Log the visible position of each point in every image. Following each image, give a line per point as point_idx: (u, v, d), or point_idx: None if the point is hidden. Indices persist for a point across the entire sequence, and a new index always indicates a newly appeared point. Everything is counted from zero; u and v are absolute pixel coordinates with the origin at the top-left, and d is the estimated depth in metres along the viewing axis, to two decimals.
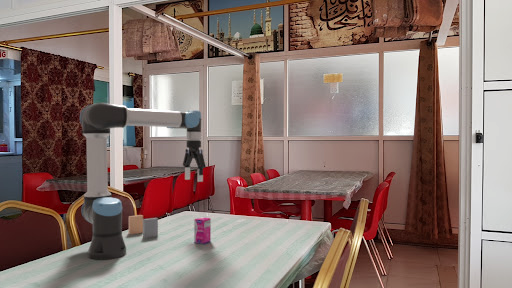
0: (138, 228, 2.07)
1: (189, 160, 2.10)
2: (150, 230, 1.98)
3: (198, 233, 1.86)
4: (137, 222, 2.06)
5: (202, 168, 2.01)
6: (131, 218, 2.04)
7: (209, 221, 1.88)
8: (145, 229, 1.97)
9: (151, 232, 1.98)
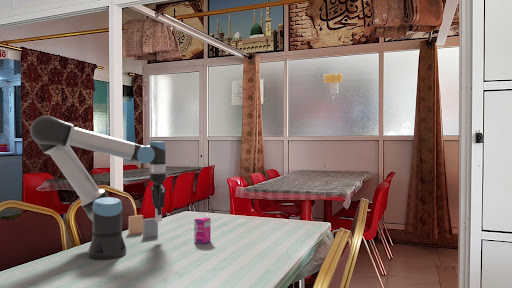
0: (138, 228, 2.07)
1: None
2: (150, 230, 1.98)
3: (198, 233, 1.86)
4: (137, 222, 2.06)
5: (160, 207, 1.90)
6: (131, 218, 2.04)
7: (209, 221, 1.88)
8: (145, 229, 1.96)
9: (151, 232, 1.98)
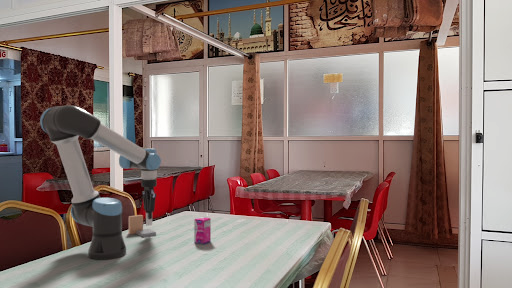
0: (138, 228, 2.07)
1: None
2: (146, 231, 2.02)
3: (198, 233, 1.86)
4: (137, 222, 2.06)
5: (151, 212, 1.99)
6: (131, 218, 2.04)
7: (209, 221, 1.88)
8: (140, 232, 2.01)
9: (148, 232, 2.02)
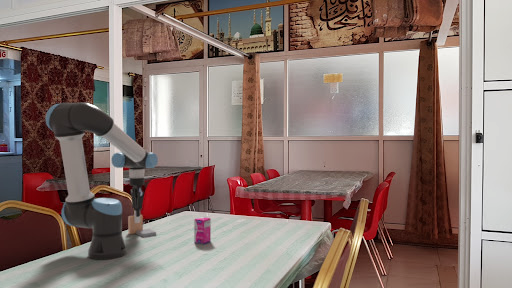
0: (138, 228, 2.07)
1: None
2: (146, 231, 2.02)
3: (198, 233, 1.86)
4: None
5: (139, 210, 2.04)
6: (131, 218, 2.05)
7: (209, 221, 1.88)
8: (140, 232, 2.01)
9: (148, 232, 2.02)
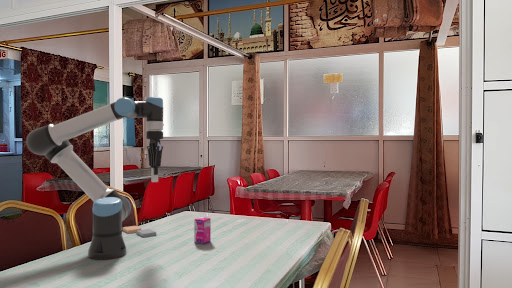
0: (135, 228, 2.10)
1: None
2: (146, 231, 2.02)
3: (198, 233, 1.86)
4: (132, 227, 2.12)
5: (157, 167, 1.81)
6: (124, 227, 2.12)
7: (209, 221, 1.88)
8: (140, 232, 2.01)
9: (148, 232, 2.02)
